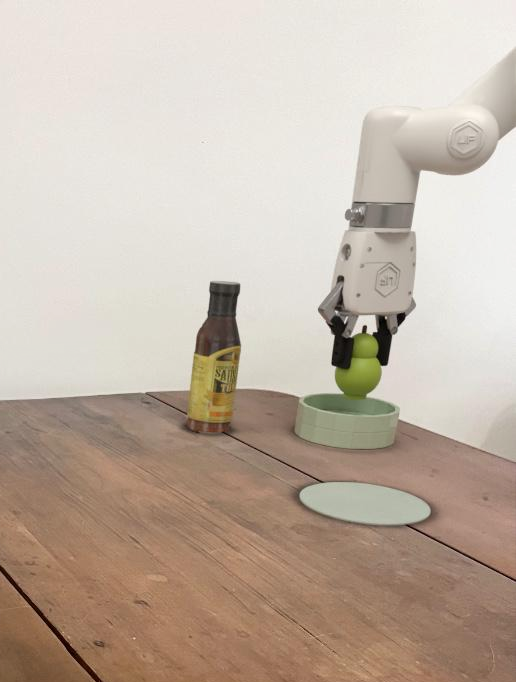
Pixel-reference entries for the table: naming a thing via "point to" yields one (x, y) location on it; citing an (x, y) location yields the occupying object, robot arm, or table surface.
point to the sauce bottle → (215, 362)
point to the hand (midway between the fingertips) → (359, 364)
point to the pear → (360, 368)
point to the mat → (364, 503)
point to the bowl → (346, 421)
